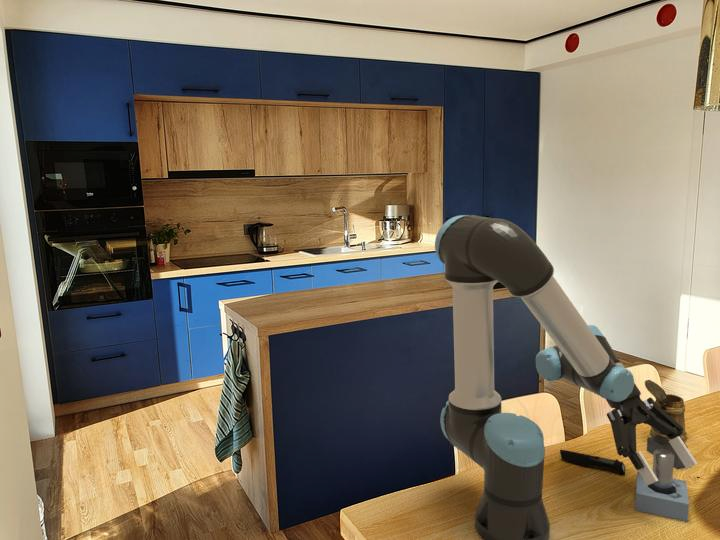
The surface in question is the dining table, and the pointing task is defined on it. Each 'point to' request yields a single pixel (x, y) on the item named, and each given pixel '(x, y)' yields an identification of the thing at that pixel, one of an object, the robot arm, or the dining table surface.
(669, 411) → the wooden mug
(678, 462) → the square bar
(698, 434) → the dining table surface
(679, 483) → the bore block
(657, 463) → the ball
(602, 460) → the electric trimmer
